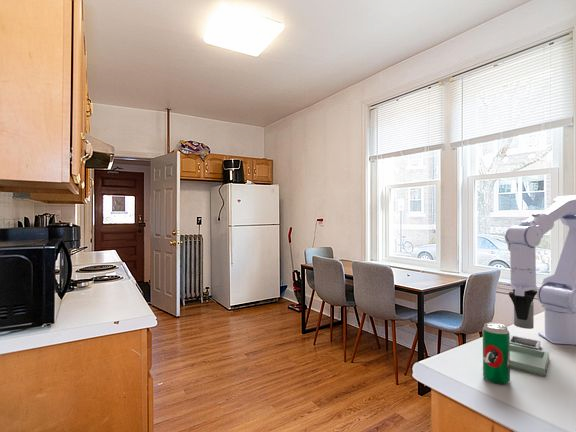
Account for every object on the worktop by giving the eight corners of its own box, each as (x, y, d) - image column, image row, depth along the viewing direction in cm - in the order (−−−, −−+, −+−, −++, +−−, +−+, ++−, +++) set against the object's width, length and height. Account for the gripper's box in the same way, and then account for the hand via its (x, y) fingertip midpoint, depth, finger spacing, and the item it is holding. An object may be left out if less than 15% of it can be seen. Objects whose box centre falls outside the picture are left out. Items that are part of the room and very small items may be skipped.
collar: (511, 340, 95) (511, 335, 95) (540, 346, 90) (540, 341, 90) (507, 347, 90) (507, 341, 90) (537, 354, 85) (537, 348, 85)
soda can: (514, 386, 69) (513, 330, 69) (488, 384, 70) (487, 328, 70) (503, 375, 74) (503, 322, 74) (479, 373, 75) (478, 321, 75)
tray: (493, 346, 90) (493, 340, 90) (548, 359, 82) (548, 352, 82) (483, 361, 81) (483, 353, 81) (544, 376, 73) (544, 368, 73)
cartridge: (528, 324, 92) (528, 299, 92) (536, 329, 87) (536, 303, 87) (511, 322, 92) (511, 298, 93) (518, 328, 88) (518, 302, 88)
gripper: (510, 264, 98) (510, 309, 98) (501, 270, 87) (501, 320, 87) (539, 266, 93) (540, 313, 93) (533, 273, 83) (534, 326, 83)
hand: (523, 317), depth 90 cm, fingers closed on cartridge, 4 cm apart
